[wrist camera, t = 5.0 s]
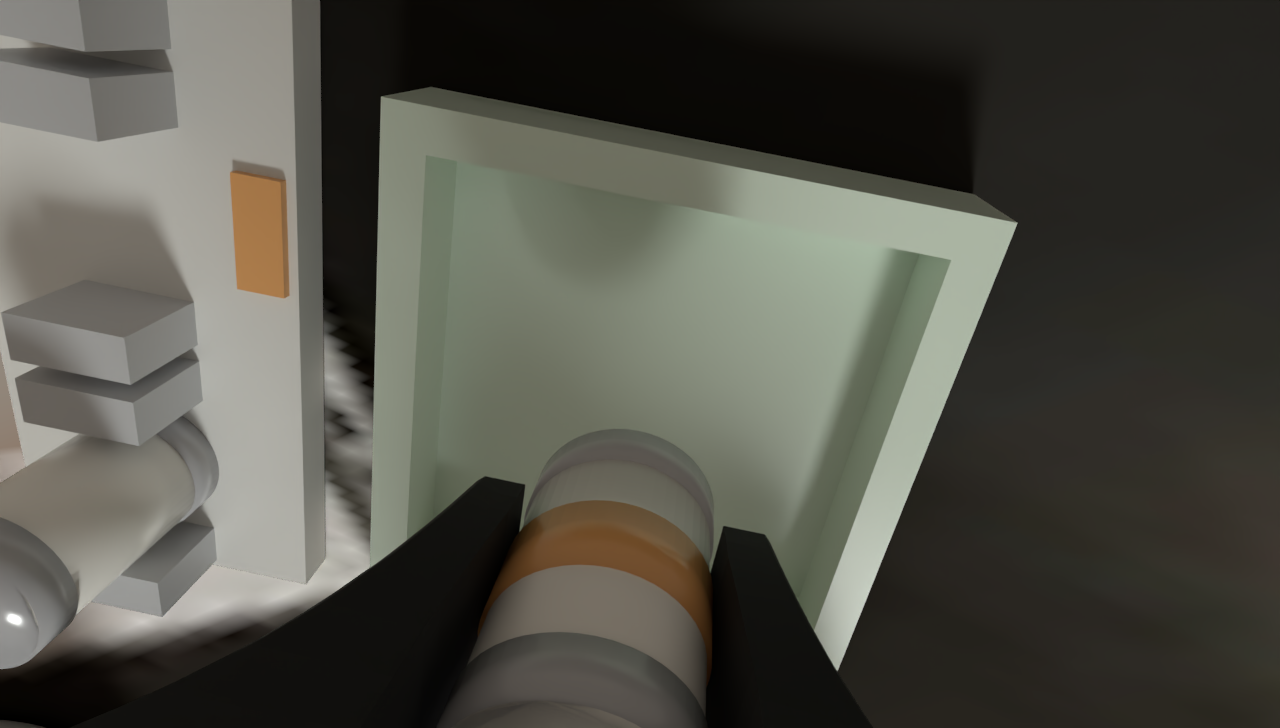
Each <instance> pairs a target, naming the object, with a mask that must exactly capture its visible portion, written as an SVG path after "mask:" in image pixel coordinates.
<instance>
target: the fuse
mask: <svg viewBox="0 0 1280 728" xmlns="http://www.w3.org/2000/svg"><path fill="white" fill-rule="evenodd" d="M218 480H219V466H218V461H217V458H216V455H215V452H214V450H213V448H212V446H211V445H210V443H209V441H208V440H207V438H206V437H205V436H204V434H203V433H202V432H201V431H200V430H199V429H198V428H197V427H196V426H195V425H194V424H193V423H192V422H190V421H189V420H188V419H186V418H185V417H183V416H181V417H179V418H178V419H176V420H175V421H174V422H172V423H171V424H169V425H168V426H167V427H165V428H164V429H162V430H161V431H160V432H158V433H157V434H155V435H154V436H153V437H151V438H150V439H148V440H147V441H146V442H144V443H143V444H141V445H140V446H136V445H131V444H126V443H121V442H117V441H112V440H107V439H102V438H98V437H93V436H88V435H83V434H78V435H76V436H74V437H73V438H71V439H70V440H68V441H66V442H65V443H63V444H62V445H60V446H58V447H57V448H55V449H54V450H52V451H51V452H49V453H47V454H46V455H44V456H43V457H41V458H39V459H38V460H36V461H35V462H33V463H31V464H30V465H28V466H27V467H25V468H23V469H22V470H20V471H19V472H17V473H15V474H14V475H12V476H11V477H9V478H7V479H6V480H4V481H3V482H1V483H0V669H7V668H13V667H17V666H20V665H22V664H24V663H26V662H28V661H29V660H31V659H32V658H33V657H34V656H35V655H36V654H37V653H39V652H40V651H41V650H42V649H43V648H44V647H45V646H46V645H47V644H48V643H50V642H51V641H52V640H53V639H54V638H55V637H56V636H57V635H58V634H59V633H61V632H62V631H63V630H64V629H65V628H66V627H67V626H68V625H69V624H70V623H71V622H72V621H73V619H74V617H75V615H76V614H77V613H79V612H80V611H81V610H82V609H83V608H84V607H85V606H86V605H87V604H89V603H90V602H91V601H92V600H93V599H94V598H95V597H96V596H97V595H99V594H100V593H101V592H102V591H103V590H104V589H105V588H106V587H107V586H108V585H110V584H111V583H112V582H113V581H114V580H115V579H116V578H117V577H118V576H120V575H121V574H122V573H123V572H124V571H125V570H126V569H127V568H128V567H130V566H131V565H132V564H133V563H134V562H135V561H136V560H137V559H138V558H139V557H141V556H142V555H143V554H144V553H145V552H146V551H147V550H148V549H149V548H151V547H152V546H153V545H154V544H155V543H156V542H157V541H158V540H159V539H161V538H162V537H163V536H164V535H165V534H166V533H167V532H168V531H169V530H170V529H172V528H173V527H174V526H175V525H176V524H178V523H180V522H182V521H183V520H185V519H186V518H187V517H188V516H189V515H190V514H192V513H193V512H194V511H195V510H196V509H197V508H198V507H199V506H200V505H201V504H203V503H204V502H205V501H206V500H207V499H208V498H209V497H210V496H211V495H212V494H213V492H214V491H215V489H216V487H217V484H218Z"/></svg>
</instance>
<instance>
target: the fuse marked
mask: <svg viewBox="0 0 1280 728" xmlns="http://www.w3.org/2000/svg"><path fill="white" fill-rule="evenodd" d="M713 542H714V501H713V495H712V492H711V488H710V485H709V483H708V481H707V479H706V477H705V475H704V474H703V472H702V471H701V469H700V468H699V466H698V465H697V464H696V463H695V462H694V461H693V459H692V458H690V457H689V456H688V455H687V454H686V453H685V452H684V451H682V450H681V449H680V448H678V447H677V446H675V445H674V444H672V443H670V442H668V441H666V440H664V439H663V438H660V437H657V436H655V435H652V434H649V433H645V432H641V431H636V430H629V429H607V430H600V431H595V432H590V433H587V434H585V435H582V436H579V437H577V438H575V439H573V440H571V441H569V442H568V443H566V444H565V445H564V446H562V447H561V448H560V449H558V450H557V451H556V452H555V453H554V454H553V455H552V456H551V458H550V459H549V460H548V461H547V463H546V464H545V466H544V468H543V470H542V472H541V474H540V476H539V479H538V481H537V484H536V486H535V489H534V491H533V493H532V496H531V498H530V501H529V503H528V506H527V509H526V513H525V517H524V525H523V527H522V529H521V531H520V532H519V533H518V535H517V536H516V537H515V539H514V540H513V542H512V544H511V545H510V547H509V550H508V552H507V555H506V557H505V560H504V562H503V564H502V567H501V569H500V572H499V574H498V577H497V579H496V581H495V584H494V586H493V589H492V591H491V593H490V596H489V598H488V601H487V603H486V606H485V608H484V611H483V613H482V616H481V618H480V622H479V627H478V639H477V641H476V643H475V646H474V648H473V651H472V653H471V656H470V658H469V661H468V663H467V666H466V667H465V668H464V669H463V670H462V672H461V673H460V675H459V676H458V678H457V680H456V681H455V683H454V686H453V688H452V690H451V693H450V695H449V698H448V700H447V703H446V705H445V707H444V710H443V712H442V715H441V717H440V720H439V722H438V724H437V727H436V728H708V724H707V721H706V718H705V716H706V687H707V685H708V682H709V680H710V675H711V669H712V629H713V583H712V577H711V574H710V571H709V568H710V561H711V558H712V552H713Z"/></svg>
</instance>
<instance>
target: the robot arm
mask: <svg viewBox="0 0 1280 728" xmlns="http://www.w3.org/2000/svg"><path fill="white" fill-rule="evenodd" d="M524 492H525V484H521V483H516V482H511V481H506V480H501V479H497V478H492V477H487V476H484V477H483V478H481V479H479V480H478V481H476V482H475V483H474V484H473V485H472V486H471V487H470V488H468V489H467V490H466V491H465V492H464V493H463V494H462V495H461V496H459V497H458V498H457V499H456V500H455V501H454V502H453V503H451V504H450V505H449V506H448V507H447V508H446V509H444V510H443V511H442V512H441V513H440V514H439V515H437V516H436V517H435V518H434V519H433V520H431V521H430V522H429V523H428V524H427V525H425V526H424V527H423V528H422V529H420V530H419V531H418V532H416V533H415V534H414V535H413V536H411V537H410V538H409V539H408V540H406V541H405V542H404V543H402V544H401V545H400V546H399V547H397V548H396V549H395V550H393V551H392V552H391V553H390V554H388V555H387V556H386V557H384V558H383V559H382V560H380V561H379V562H378V563H376V564H375V565H373V566H372V567H370V568H369V569H368V570H366V571H365V572H363V573H362V574H360V575H359V576H358V577H356V578H355V579H353V580H352V581H350V582H349V583H348V584H346V585H345V586H343V587H342V588H340V589H339V590H338V591H336V592H335V593H333V594H332V595H330V596H329V597H327V598H326V599H324V600H322V601H321V602H319V603H318V604H316V605H315V606H313V607H312V608H310V609H308V610H307V611H305V612H304V613H302V614H300V615H299V616H297V617H295V618H294V619H292V620H290V621H289V622H287V623H285V624H284V625H282V626H280V627H278V628H277V629H275V630H273V631H272V632H270V633H268V634H266V635H265V636H263V637H261V638H259V639H258V640H256V641H254V642H252V643H250V644H248V645H246V646H245V647H243V648H241V649H239V650H237V651H235V652H233V653H231V654H229V655H228V656H226V657H224V658H222V659H220V660H218V661H216V662H214V663H212V664H210V665H208V666H206V667H204V668H202V669H200V670H198V671H196V672H194V673H192V674H190V675H188V676H186V677H184V678H182V679H180V680H178V681H176V682H174V683H172V684H170V685H168V686H165V687H163V688H161V689H159V690H157V691H154V692H152V693H150V694H148V695H145V696H143V697H141V698H139V699H136V700H134V701H132V702H130V703H127V704H125V705H123V706H121V707H118V708H116V709H113V710H111V711H109V712H106V713H104V714H101V715H99V716H97V717H94V718H92V719H89V720H87V721H84V722H82V723H80V724H77V725H75V726H72V727H70V728H436V727H437V724H438V722H439V720H440V717H441V715H442V712H443V710H444V707H445V705H446V703H447V700H448V698H449V695H450V693H451V690H452V688H453V686H454V683H455V681H456V680H457V678H458V676H459V675H460V673H461V672H462V670H463V669H464V668H465V667H466V666H467V663H468V661H469V658H470V656H471V653H472V651H473V648H474V646H475V643H476V641H477V639H478V627H479V622H480V618H481V616H482V613H483V611H484V608H485V606H486V603H487V601H488V598H489V596H490V593H491V591H492V589H493V586H494V584H495V581H496V579H497V577H498V574H499V572H500V569H501V567H502V564H503V562H504V560H505V557H506V555H507V552H508V550H509V547H510V545H511V544H512V542H513V540H514V539H515V537H516V536H517V535H518V533H519V531H520V523H521V515H522V508H523V500H524ZM710 574H711V577H712V583H713V629H712V669H711V675H710V680H709V682H708V685H707V687H706V716H705V718H706V721H707V724H708V728H873V727H872V725H871V724H870V722H869V721H868V719H867V718H866V716H865V715H864V713H863V712H862V710H861V709H860V707H859V705H858V704H857V702H856V701H855V699H854V698H853V696H852V694H851V693H850V691H849V690H848V688H847V686H846V685H845V683H844V682H843V680H842V679H841V677H840V675H839V673H838V672H837V670H836V668H835V667H834V665H833V663H832V662H831V660H830V658H829V657H828V655H827V653H826V651H825V649H824V648H823V646H822V644H821V642H820V641H819V639H818V637H817V635H816V633H815V632H814V630H813V628H812V626H811V624H810V623H809V621H808V619H807V617H806V615H805V613H804V611H803V609H802V608H801V606H800V604H799V602H798V600H797V598H796V596H795V594H794V592H793V590H792V588H791V586H790V584H789V582H788V580H787V578H786V576H785V573H784V571H783V569H782V567H781V565H780V563H779V561H778V559H777V556H776V554H775V552H774V550H773V548H772V545H771V543H770V541H769V540H768V538H767V537H766V535H765V534H761V533H756V532H751V531H746V530H741V529H737V528H732V527H727V526H723V529H722V533H721V537H720V540H719V544H718V547H717V551H716V555H715V558H714V562H713V565H712V569H711V573H710Z"/></svg>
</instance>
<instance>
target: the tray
mask: <svg viewBox="0 0 1280 728" xmlns="http://www.w3.org/2000/svg"><path fill="white" fill-rule="evenodd" d="M1016 225H1017V222H1015V221H1014V220H1012V219H1011V218H1009V217H1008V216H1006V215H1005V214H1003V213H1002V212H1000V211H999V210H997V209H996V208H994V207H993V206H991V205H989V204H988V203H986V202H985V201H983V200H982V199H980V198H979V197H977V196H976V195H974V194H970V193H965V192H960V191H955V190H950V189H945V188H940V187H935V186H930V185H925V184H920V183H915V182H909V181H904V180H899V179H894V178H889V177H884V176H879V175H874V174H869V173H864V172H859V171H854V170H849V169H844V168H839V167H834V166H829V165H824V164H819V163H813V162H808V161H803V160H798V159H793V158H788V157H783V156H778V155H773V154H768V153H763V152H758V151H753V150H748V149H743V148H738V147H733V146H728V145H723V144H717V143H712V142H707V141H702V140H697V139H692V138H687V137H682V136H677V135H672V134H667V133H662V132H657V131H652V130H647V129H642V128H637V127H632V126H627V125H621V124H616V123H611V122H606V121H601V120H596V119H591V118H586V117H581V116H576V115H571V114H566V113H561V112H556V111H551V110H546V109H541V108H536V107H530V106H525V105H520V104H515V103H510V102H505V101H500V100H495V99H490V98H485V97H480V96H475V95H470V94H465V93H460V92H455V91H450V90H445V89H440V88H434V87H428V88H423V89H417V90H412V91H407V92H402V93H397V94H392V95H387V96H381V117H380V159H379V202H378V244H377V287H376V330H375V372H374V415H373V458H372V500H371V543H370V567H372V566H373V565H375V564H376V563H378V562H379V561H380V560H382V559H383V558H384V557H386V556H387V555H388V554H390V553H391V552H392V551H393V550H395V549H396V548H397V547H399V546H400V545H401V544H402V543H404V542H405V541H406V540H408V539H409V538H410V537H411V536H413V535H414V534H415V533H416V532H418V531H419V530H420V529H422V528H423V527H424V526H425V525H427V524H428V523H429V522H430V521H431V520H433V519H434V518H435V517H436V516H437V515H439V514H440V513H441V512H442V511H443V510H444V509H446V508H447V507H448V506H449V505H450V504H451V503H453V502H454V501H455V500H456V499H457V498H458V497H459V496H461V495H462V494H463V493H464V492H465V491H466V490H467V489H468V488H470V487H471V486H472V485H473V484H474V483H475V482H476V481H478V480H479V479H481V478H483V477H484V476H487V477H492V478H497V479H501V480H506V481H511V482H516V483H521V484H525V492H524V500H523V508H522V515H521V523H520V531H521V529H522V527H523V525H524V517H525V513H526V509H527V506H528V503H529V501H530V498H531V496H532V493H533V491H534V489H535V486H536V484H537V481H538V479H539V476H540V474H541V472H542V470H543V468H544V466H545V464H546V463H547V461H548V460H549V459H550V458H551V456H552V455H553V454H554V453H555V452H556V451H557V450H558V449H560V448H561V447H562V446H564V445H565V444H566V443H568V442H569V441H571V440H573V439H575V438H577V437H579V436H582V435H585V434H587V433H590V432H595V431H600V430H607V429H629V430H636V431H641V432H645V433H649V434H652V435H655V436H657V437H660V438H663V439H664V440H666V441H668V442H670V443H672V444H674V445H675V446H677V447H678V448H680V449H681V450H682V451H684V452H685V453H686V454H687V455H688V456H689V457H690V458H692V459H693V461H694V462H695V463H696V464H697V465H698V466H699V468H700V469H701V471H702V472H703V474H704V475H705V477H706V479H707V481H708V483H709V485H710V488H711V492H712V495H713V501H714V542H713V552H712V558H711V561H710V568H709V571H710V573H711V569H712V565H713V562H714V558H715V555H716V551H717V547H718V544H719V540H720V537H721V533H722V529H723V526H727V527H732V528H737V529H741V530H746V531H751V532H756V533H761V534H765V535H766V537H767V538H768V540H769V541H770V543H771V545H772V548H773V550H774V552H775V554H776V556H777V559H778V561H779V563H780V565H781V567H782V569H783V571H784V573H785V576H786V578H787V580H788V582H789V584H790V586H791V588H792V590H793V592H794V594H795V596H796V598H797V600H798V602H799V604H800V606H801V608H802V609H803V611H804V613H805V615H806V617H807V619H808V621H809V623H810V624H811V626H812V628H813V630H814V632H815V633H816V635H817V637H818V639H819V641H820V642H821V644H822V646H823V648H824V649H825V651H826V653H827V655H828V657H829V658H830V660H831V662H832V663H833V665H834V667H835V668H836V670H837V671H838V669H839V666H840V664H841V661H842V659H843V656H844V654H845V651H846V649H847V646H848V644H849V641H850V639H851V636H852V634H853V631H854V629H855V626H856V624H857V621H858V619H859V616H860V614H861V611H862V609H863V606H864V604H865V601H866V599H867V596H868V594H869V591H870V589H871V587H872V584H873V582H874V579H875V577H876V574H877V572H878V569H879V567H880V564H881V562H882V559H883V557H884V554H885V552H886V549H887V547H888V544H889V542H890V539H891V537H892V534H893V532H894V529H895V527H896V524H897V522H898V519H899V517H900V514H901V512H902V509H903V507H904V504H905V502H906V499H907V497H908V494H909V492H910V489H911V487H912V484H913V482H914V479H915V477H916V474H917V472H918V469H919V467H920V465H921V462H922V460H923V457H924V455H925V452H926V450H927V447H928V445H929V442H930V440H931V437H932V435H933V432H934V430H935V427H936V425H937V422H938V420H939V417H940V415H941V412H942V410H943V407H944V405H945V402H946V400H947V397H948V395H949V392H950V390H951V387H952V385H953V382H954V380H955V377H956V375H957V372H958V370H959V367H960V365H961V362H962V360H963V357H964V355H965V352H966V350H967V347H968V345H969V343H970V340H971V338H972V335H973V333H974V330H975V328H976V325H977V323H978V320H979V318H980V315H981V313H982V310H983V308H984V305H985V303H986V300H987V298H988V295H989V293H990V290H991V288H992V285H993V283H994V280H995V278H996V275H997V273H998V270H999V268H1000V265H1001V263H1002V260H1003V258H1004V255H1005V253H1006V250H1007V248H1008V245H1009V243H1010V240H1011V238H1012V235H1013V233H1014V230H1015V228H1016ZM520 531H519V532H520Z"/></svg>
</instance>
